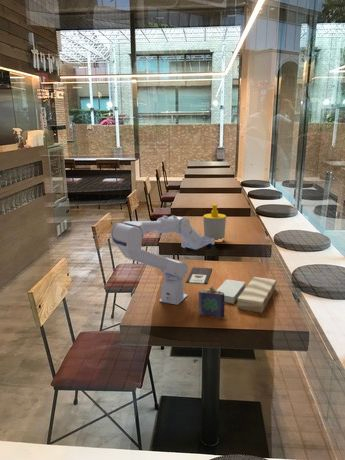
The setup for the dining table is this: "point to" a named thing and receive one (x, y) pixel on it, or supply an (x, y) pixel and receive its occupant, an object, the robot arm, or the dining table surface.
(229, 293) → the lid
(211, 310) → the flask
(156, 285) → the dining table surface
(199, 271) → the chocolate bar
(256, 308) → the striped cream block
